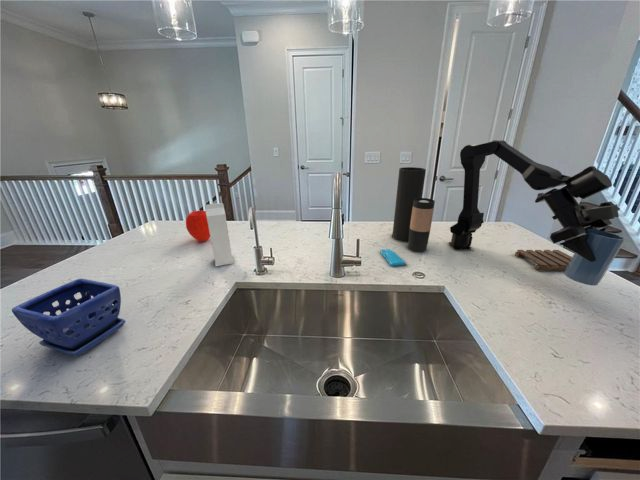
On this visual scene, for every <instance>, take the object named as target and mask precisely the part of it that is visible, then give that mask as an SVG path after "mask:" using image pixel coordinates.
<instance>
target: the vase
mask: <svg viewBox="0 0 640 480" xmlns="http://www.w3.org/2000/svg"><path fill="white" fill-rule="evenodd" d="M426 171H427V169H426V168H423V167H417V166H416V167H415V166H414V167H413V166H412V167H411V166H406V167H405V166H404V167H400V168H399V169H398V178H397V190H396V198H395V207H394V217H393V224H392V235H391V236H392V238H393V239H394V240H396V241H399V242H404V243H405V242H406V243H408V240H409V230H410V222H411V215H412V209H413V202H414V199H416V198H423V194H424V193H423V192H424V187H425V178H426Z"/></svg>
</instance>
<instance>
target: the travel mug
mask: <svg viewBox="0 0 640 480" xmlns="http://www.w3.org/2000/svg"><path fill="white" fill-rule="evenodd" d="M435 203H436V201H435V200H434V199H431V198H427V197H422V198H416V199H414V202H413V209H412V215H411V222H410V230H409V240H408V242H407V249H408V250H409V251H411V252H414V253H424V252H426V251H427V248H428V245H429V239H430V233H431V229H432V221H433V215H434V209H435Z"/></svg>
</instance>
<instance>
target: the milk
mask: <svg viewBox="0 0 640 480" xmlns="http://www.w3.org/2000/svg"><path fill="white" fill-rule="evenodd" d="M204 209H205V210H204V211H206V216H207V221H208V227H209V232H210V244H211V248H212V253H213V258H214V263H215V264H214V265H215V267H221V266H226V265H232V264H234V260H233V253H232V247H231V242H230V241H231V240H230V236H229V228H228V222H227V215H226V210H225V205H224V203H223V202H219V203H207V204H205V205H204Z"/></svg>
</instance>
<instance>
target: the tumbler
mask: <svg viewBox="0 0 640 480" xmlns="http://www.w3.org/2000/svg"><path fill="white" fill-rule="evenodd" d="M588 233H590V234H589V237H588V239H587V242H588V244H589V246H590V248H591V250H592V252H593V254H594V256H595V258H596V261H593V262H590V261H589V260H587V259H585V258H584V257H582V256H580V255H579V254H577V253H575V252H574V253H573V254H572V256H571V257H572V258H571V260H570V262H569V264H568V266H567V268H566V270H565V271H563V275H564V276H566V278H568V279H570V280H572V281H574V282H576V283H580V284H583V285H587V286H593V287H595V286H598V285H599V284H600V283H601V282H602V280H603V278H604V277H605V275H606V273H607V271H608V270H609V268H610V266H611V264H612V263H613V261H614V260H615V258H616V256H617V255H618V253H619V251H620V250H621V248H622V246H623V245H624V243H625V241H626V238H625V237H624V236H622V235H619V234H617V233H613V232H611V231H607V232H606V231H601V230H595V229H587V230H586V232H585V234H588ZM585 234H584V235H585Z"/></svg>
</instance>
